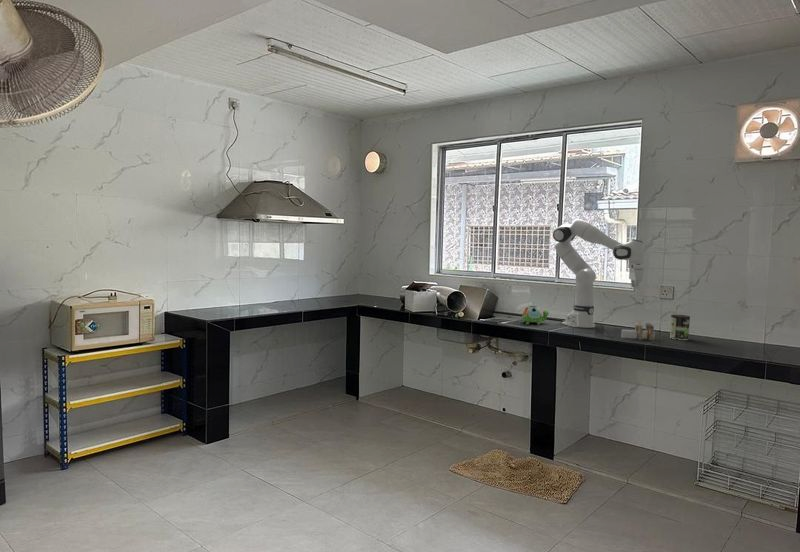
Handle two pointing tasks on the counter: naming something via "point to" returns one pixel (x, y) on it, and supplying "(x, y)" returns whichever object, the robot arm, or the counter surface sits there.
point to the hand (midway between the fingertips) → (634, 287)
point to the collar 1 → (640, 332)
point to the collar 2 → (650, 330)
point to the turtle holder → (534, 315)
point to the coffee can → (679, 327)
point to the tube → (635, 334)
